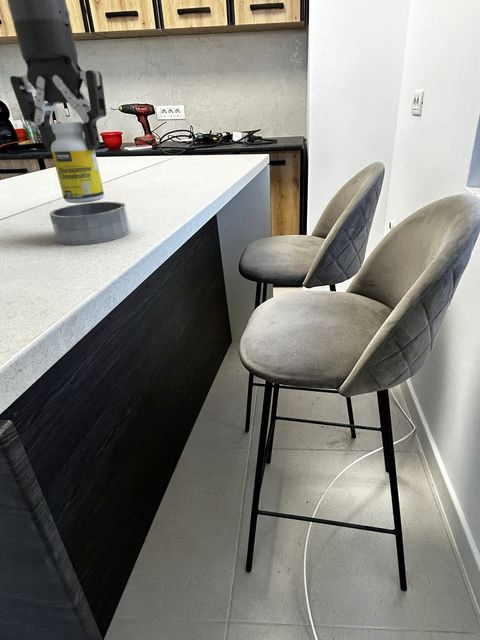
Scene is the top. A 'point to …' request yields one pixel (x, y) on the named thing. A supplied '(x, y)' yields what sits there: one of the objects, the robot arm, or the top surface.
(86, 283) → the top surface
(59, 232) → the dish
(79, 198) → the pill bottle
